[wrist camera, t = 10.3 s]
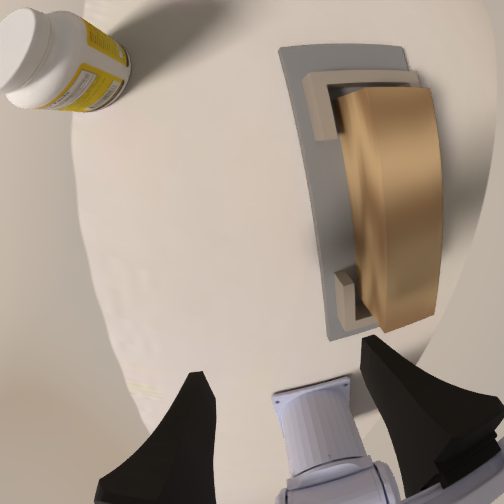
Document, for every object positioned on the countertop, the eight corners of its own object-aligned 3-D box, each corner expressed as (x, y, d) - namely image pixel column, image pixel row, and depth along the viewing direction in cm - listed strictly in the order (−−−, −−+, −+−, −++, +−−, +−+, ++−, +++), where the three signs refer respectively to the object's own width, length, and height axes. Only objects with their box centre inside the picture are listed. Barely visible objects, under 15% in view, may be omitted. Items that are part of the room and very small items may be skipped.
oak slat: (401, 281, 20) (434, 314, 16) (357, 294, 20) (384, 333, 16) (385, 96, 15) (429, 88, 10) (332, 99, 15) (366, 87, 10)
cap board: (416, 307, 22) (431, 324, 20) (327, 335, 23) (336, 357, 20) (396, 49, 14) (416, 40, 11) (278, 51, 14) (285, 36, 12)
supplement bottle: (79, 43, 13) (-7, 7, 4) (142, 43, 13) (72, -20, 4) (59, 112, 15) (-40, 111, 5) (120, 116, 15) (25, 106, 6)
